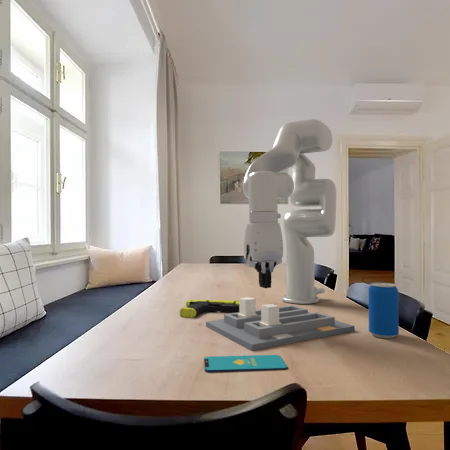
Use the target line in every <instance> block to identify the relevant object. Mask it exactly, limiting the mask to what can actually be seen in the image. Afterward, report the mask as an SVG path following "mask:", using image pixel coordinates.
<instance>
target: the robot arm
mask: <svg viewBox="0 0 450 450" xmlns="http://www.w3.org/2000/svg"><path fill="white" fill-rule="evenodd" d="M272 145H273V146H272V148H271V149H269V150H267V151H266V152H265V153H263V154H262V155H260V156H258V157H257V158H256V159H255V160H254V161H253V162H252V163H251V164H250V165H249V167H248V169H247V170H246V173H245V175H244V178H243V182H242V191H243V192H242V193H243V195H244V196H245V198H247V199H248V214H249V216H248V219H249V220H248V221H249V223H247V224H246V226H245V232H244V240H243V257H244V260H245V261H246V267H250V268H253V269H254V270H256V273H258V284H259V287H260V288H263V289H271V288H272V273H273V272H274V269H275V267H276V266H277V265H281V264H282V263H283V259H282V258H283V257H284V242H283V240H284V239H283V234H282V228H281V224H280V223H279V219H281V216H282V215H281V213H278V200H285V199H287V198H289V201H290V203H291V204H292V206H295V207H298V208H300V207H301V208H300V209H293V210H290V211H287V212H286V213H285V214H284V216H283V221H282V222H283V223H282V224H283V229H284V235H285V249H286V253H285V254H286V256H285V257H286V259H285V260H286V261H285V262H286V263H285V264H286V265H285V267H286V294H284V295H282V296H281V297H282V298H281V300H282V301H283V302H286V303H291V304H298V305H299V304H300V305H301V304H303V305H305V304H306V305H307V304H308V305H309V304H316V303H318V302H320V297H319V296H318V295H320V294H324V293H326V290H325V288H324V287H319V288H318V287H316V286H315V249H314V247H313V245H312V243H311V242H310V241H309V240H308V238H329V237H331V236H333V235H334V233H335V230H336V218H337V187H336V184H335V182H334V181H333V180H332V179H330V178H316V167H315V164H314V163H313V162H312V161H311V159H310V158H309V157H308V156H307V155H305V154H312V153H313V154H314V153H322V152H327V151H329V150H330V149H331V147H332V145H333V134H332V131H331V128H330V127H329V126H328V125H327V124H326V123H325V122H323V121H321V120H320V119H315V118H311V119H305V120H303V119H302V120H298V121H296V120H295V121H290V122H286V123H284V124H283V125H282V126H281V127H280V129H279V131H278V132H277V135H276V137H275V140H274V143H273V144H272ZM289 168H290V170H291V171H290V174H289V173H286V172H283V171H285V170H288V169H289ZM304 207H305V209H302V208H304ZM310 207H312V208H313V207H315V209H314V208H313V209H311V208H310ZM316 207H320V208H316ZM308 208H309V209H308Z"/></svg>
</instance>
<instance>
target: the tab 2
mask: <svg viewBox="0 0 450 450" xmlns="http://www.w3.org/2000/svg"><path fill="white" fill-rule="evenodd" d="M260 306H261V307H260V310H261V322H259V327H267V326H273V325H279V324H281V323H279V307H280V306H279V305H276V304H273V303H268V304H267V303H266V304H261V305H260Z"/></svg>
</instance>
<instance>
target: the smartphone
mask: <svg viewBox="0 0 450 450" xmlns="http://www.w3.org/2000/svg"><path fill="white" fill-rule="evenodd" d="M203 363H204V372H205V373H208V374H209V373H211V374H212V373H233V372H234V373H235V372H237V373H238V372H256V371H257V372H258V371H261V372H263V371H284V370H288V365H287V364H286V362H285V360H284V359H283V358H282V357H281V355H279V354H262V355H261V354H259V355H258V354H257V355H253V354H252V355H251V354H250V355H249V354H248V355H223V356H222V355H220V356H219V355H217V356H205V357H204V358H203Z"/></svg>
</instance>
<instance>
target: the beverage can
mask: <svg viewBox="0 0 450 450" xmlns="http://www.w3.org/2000/svg"><path fill="white" fill-rule="evenodd" d="M369 284H370V285H369V287H368V332H369V333H371V335H372V336H374V337H377V338H380V339H393V338H395V337H396V336H398V335H399V334H400V333H399V330H400V328H399V327H400V326H399V325H400V323H399V322H400V321H399V320H400V319H399V290H398V288H397V284H395V283H390V282H371V283H369Z"/></svg>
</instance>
